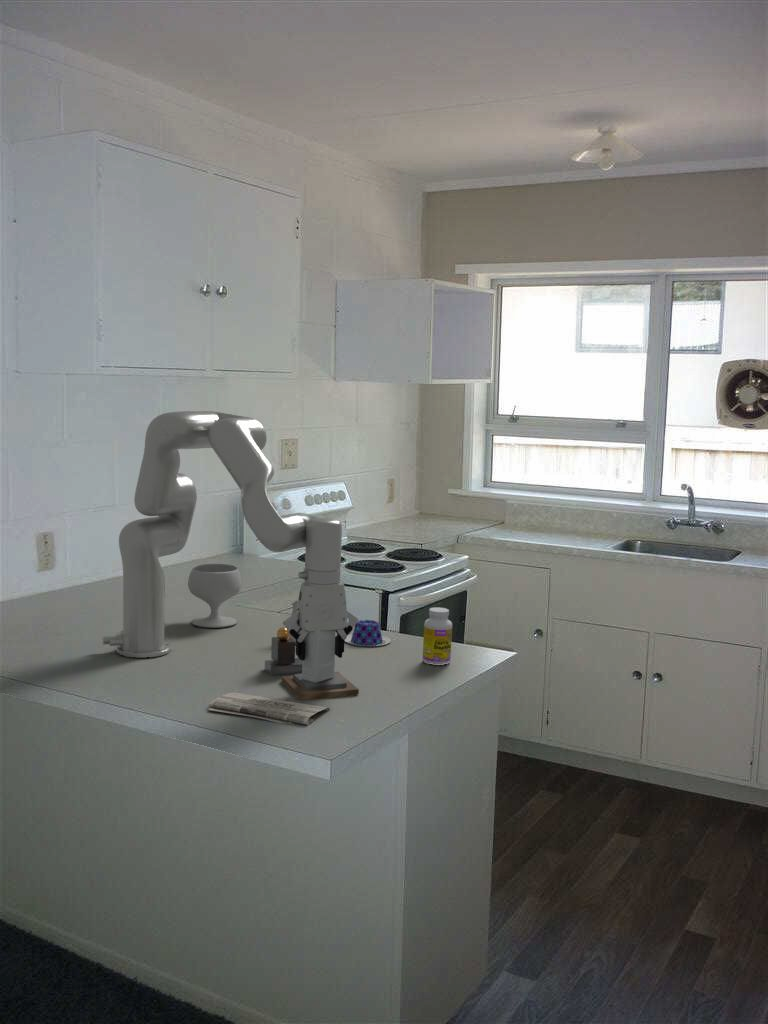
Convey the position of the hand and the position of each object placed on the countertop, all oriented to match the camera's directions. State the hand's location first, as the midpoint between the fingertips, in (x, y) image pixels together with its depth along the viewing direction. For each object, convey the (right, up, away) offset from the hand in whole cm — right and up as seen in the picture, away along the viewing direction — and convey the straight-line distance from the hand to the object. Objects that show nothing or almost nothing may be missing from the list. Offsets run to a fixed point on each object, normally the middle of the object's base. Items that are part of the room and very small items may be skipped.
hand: (319, 656), depth 216 cm
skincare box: (-1, -5, +1) cm, 5 cm away
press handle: (-9, -3, +12) cm, 15 cm away
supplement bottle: (+26, -5, +24) cm, 36 cm away
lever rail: (-6, -5, +14) cm, 16 cm away
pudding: (+9, -2, +40) cm, 41 cm away
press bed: (0, -7, +1) cm, 7 cm away
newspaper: (-9, -10, -14) cm, 20 cm away
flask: (-8, -2, +38) cm, 39 cm away
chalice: (-31, +1, +52) cm, 61 cm away
